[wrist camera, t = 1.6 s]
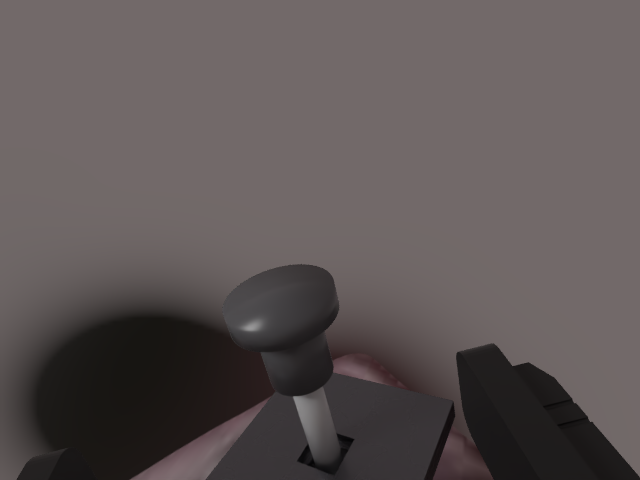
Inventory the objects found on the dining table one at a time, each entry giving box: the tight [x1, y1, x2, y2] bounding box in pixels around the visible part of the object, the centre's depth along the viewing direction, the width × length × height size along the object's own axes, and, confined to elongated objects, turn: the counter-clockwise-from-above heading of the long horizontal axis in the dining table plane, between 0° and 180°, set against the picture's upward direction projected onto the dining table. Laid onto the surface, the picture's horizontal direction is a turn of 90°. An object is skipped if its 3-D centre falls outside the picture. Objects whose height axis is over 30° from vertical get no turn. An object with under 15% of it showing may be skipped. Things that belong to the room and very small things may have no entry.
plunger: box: [222, 264, 343, 474], centre depth 23 cm, size 5×5×11 cm
